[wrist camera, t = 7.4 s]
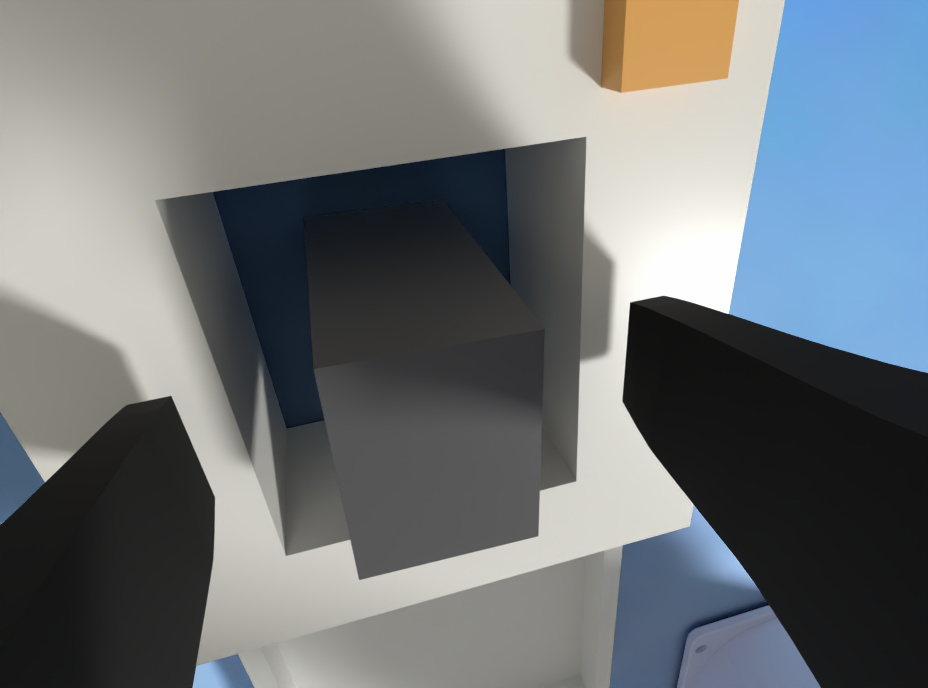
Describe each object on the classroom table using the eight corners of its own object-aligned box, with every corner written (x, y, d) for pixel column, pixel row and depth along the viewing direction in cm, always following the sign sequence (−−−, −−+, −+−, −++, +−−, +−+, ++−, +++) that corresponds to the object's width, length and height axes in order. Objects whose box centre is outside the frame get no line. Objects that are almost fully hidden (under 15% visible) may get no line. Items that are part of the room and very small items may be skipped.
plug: (454, 354, 15) (538, 536, 10) (334, 375, 14) (358, 580, 9) (443, 199, 13) (545, 328, 8) (303, 217, 12) (314, 369, 7)
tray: (587, 664, 24) (607, 708, 22) (312, 751, 22) (314, 806, 20) (598, 463, 18) (626, 505, 17) (224, 558, 16) (217, 615, 15)
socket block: (612, 425, 17) (704, 545, 14) (193, 527, 15) (161, 703, 11) (647, -62, 11) (836, -95, 7) (-59, -2, 9) (-317, -3, 5)
